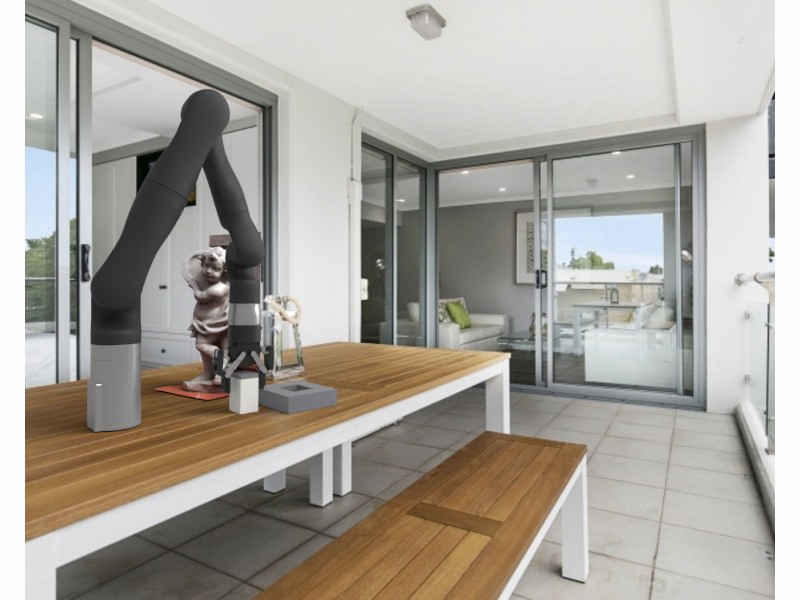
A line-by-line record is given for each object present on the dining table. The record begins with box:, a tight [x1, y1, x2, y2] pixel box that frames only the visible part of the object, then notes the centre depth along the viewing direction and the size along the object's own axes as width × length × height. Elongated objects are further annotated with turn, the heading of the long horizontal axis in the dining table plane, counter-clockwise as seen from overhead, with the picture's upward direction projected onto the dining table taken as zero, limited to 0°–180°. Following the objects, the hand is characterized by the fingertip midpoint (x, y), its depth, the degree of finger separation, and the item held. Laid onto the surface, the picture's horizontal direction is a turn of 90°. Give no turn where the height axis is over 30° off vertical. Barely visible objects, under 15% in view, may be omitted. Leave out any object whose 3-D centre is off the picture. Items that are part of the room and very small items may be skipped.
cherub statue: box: [155, 231, 263, 401], centre depth 142 cm, size 23×19×45 cm
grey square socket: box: [258, 379, 338, 415], centre depth 127 cm, size 14×16×4 cm
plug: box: [228, 371, 259, 415], centre depth 119 cm, size 4×6×9 cm
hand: (244, 390), depth 119 cm, fingers open, 8 cm apart
